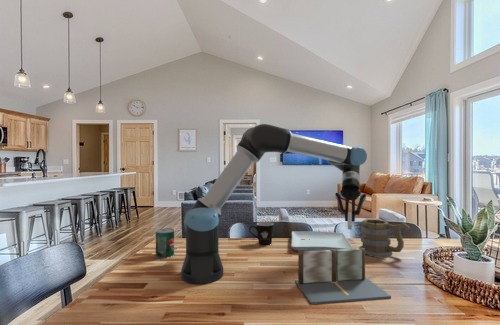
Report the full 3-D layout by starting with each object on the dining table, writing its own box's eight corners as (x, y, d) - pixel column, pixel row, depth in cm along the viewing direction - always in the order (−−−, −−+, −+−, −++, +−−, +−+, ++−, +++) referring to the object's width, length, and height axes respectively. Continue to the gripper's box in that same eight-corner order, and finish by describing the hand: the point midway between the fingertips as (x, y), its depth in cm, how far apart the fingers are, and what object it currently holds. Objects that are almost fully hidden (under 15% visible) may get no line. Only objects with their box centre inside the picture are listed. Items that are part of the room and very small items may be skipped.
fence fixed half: (299, 284, 90) (299, 252, 90) (297, 281, 92) (297, 250, 92) (337, 282, 92) (337, 250, 92) (334, 279, 94) (334, 248, 94)
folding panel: (337, 281, 92) (337, 250, 92) (335, 278, 94) (335, 249, 94) (366, 279, 93) (366, 249, 93) (363, 277, 95) (363, 247, 95)
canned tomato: (175, 256, 119) (175, 231, 119) (156, 259, 115) (156, 233, 115) (172, 251, 126) (172, 227, 126) (154, 253, 123) (154, 229, 123)
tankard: (355, 252, 124) (355, 219, 124) (367, 246, 133) (367, 215, 133) (403, 263, 110) (403, 226, 110) (413, 256, 118) (413, 221, 119)
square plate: (291, 237, 150) (291, 230, 150) (343, 239, 146) (343, 232, 146) (291, 253, 124) (291, 244, 124) (354, 256, 119) (354, 247, 119)
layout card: (311, 304, 79) (311, 301, 79) (295, 281, 93) (295, 279, 93) (390, 298, 82) (390, 295, 82) (363, 277, 97) (363, 275, 97)
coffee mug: (276, 242, 139) (276, 223, 139) (268, 247, 131) (268, 226, 131) (256, 239, 145) (256, 220, 145) (248, 243, 138) (248, 223, 138)
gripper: (335, 177, 125) (332, 221, 110) (366, 177, 120) (367, 223, 105) (336, 187, 130) (333, 231, 115) (366, 188, 125) (367, 234, 110)
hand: (349, 227), depth 110 cm, fingers closed
